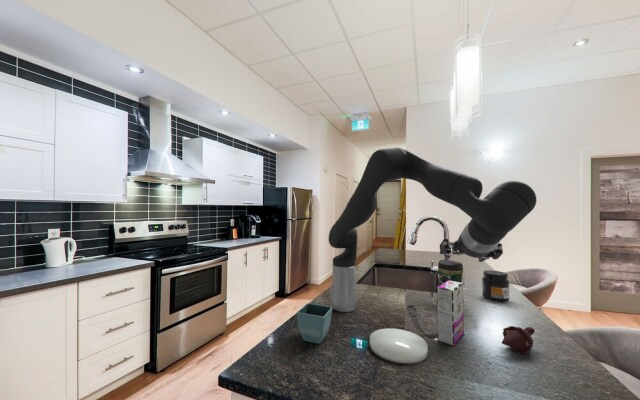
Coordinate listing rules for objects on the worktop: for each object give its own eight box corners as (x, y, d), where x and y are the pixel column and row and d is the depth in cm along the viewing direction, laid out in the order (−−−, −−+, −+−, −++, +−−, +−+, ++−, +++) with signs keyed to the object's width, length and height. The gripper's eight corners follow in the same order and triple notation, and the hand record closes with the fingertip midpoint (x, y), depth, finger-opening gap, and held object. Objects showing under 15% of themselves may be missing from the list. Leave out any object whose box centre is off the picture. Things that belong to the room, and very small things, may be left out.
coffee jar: (467, 306, 109) (466, 261, 110) (454, 309, 106) (454, 263, 107) (447, 299, 118) (446, 257, 119) (434, 301, 115) (434, 259, 115)
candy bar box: (447, 328, 88) (447, 279, 89) (464, 333, 85) (464, 282, 85) (436, 340, 80) (436, 286, 81) (454, 346, 77) (453, 290, 77)
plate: (364, 355, 71) (364, 348, 71) (374, 330, 86) (374, 325, 86) (428, 369, 65) (428, 361, 65) (427, 340, 80) (427, 334, 80)
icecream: (521, 340, 68) (549, 334, 74) (492, 322, 74) (520, 318, 81) (513, 364, 69) (541, 355, 75) (485, 344, 75) (513, 338, 82)
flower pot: (332, 335, 82) (333, 306, 83) (323, 349, 74) (324, 316, 75) (306, 330, 85) (307, 302, 86) (295, 343, 77) (296, 312, 77)
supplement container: (512, 304, 113) (512, 276, 113) (483, 300, 117) (483, 273, 118) (507, 297, 122) (506, 271, 123) (480, 293, 127) (480, 269, 127)
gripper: (511, 225, 63) (489, 247, 76) (446, 221, 67) (436, 242, 80) (516, 256, 59) (492, 272, 73) (447, 249, 63) (437, 266, 77)
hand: (463, 256), depth 77 cm, fingers open, 8 cm apart
